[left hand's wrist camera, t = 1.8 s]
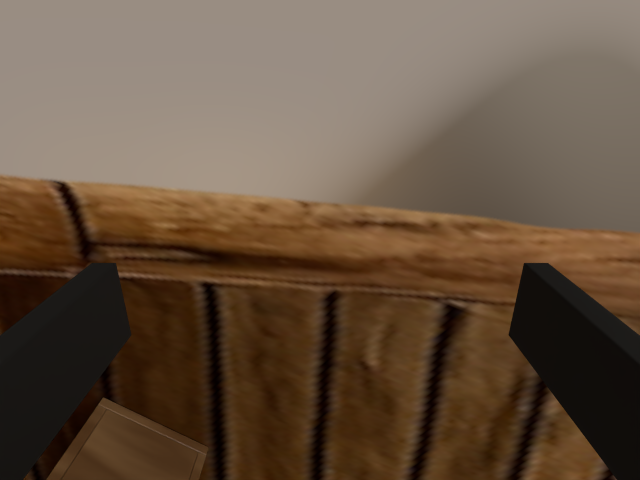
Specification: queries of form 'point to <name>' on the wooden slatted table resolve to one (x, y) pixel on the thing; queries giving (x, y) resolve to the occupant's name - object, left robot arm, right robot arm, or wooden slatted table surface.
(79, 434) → the chest
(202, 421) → the wooden slatted table surface
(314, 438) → the wooden slatted table surface
